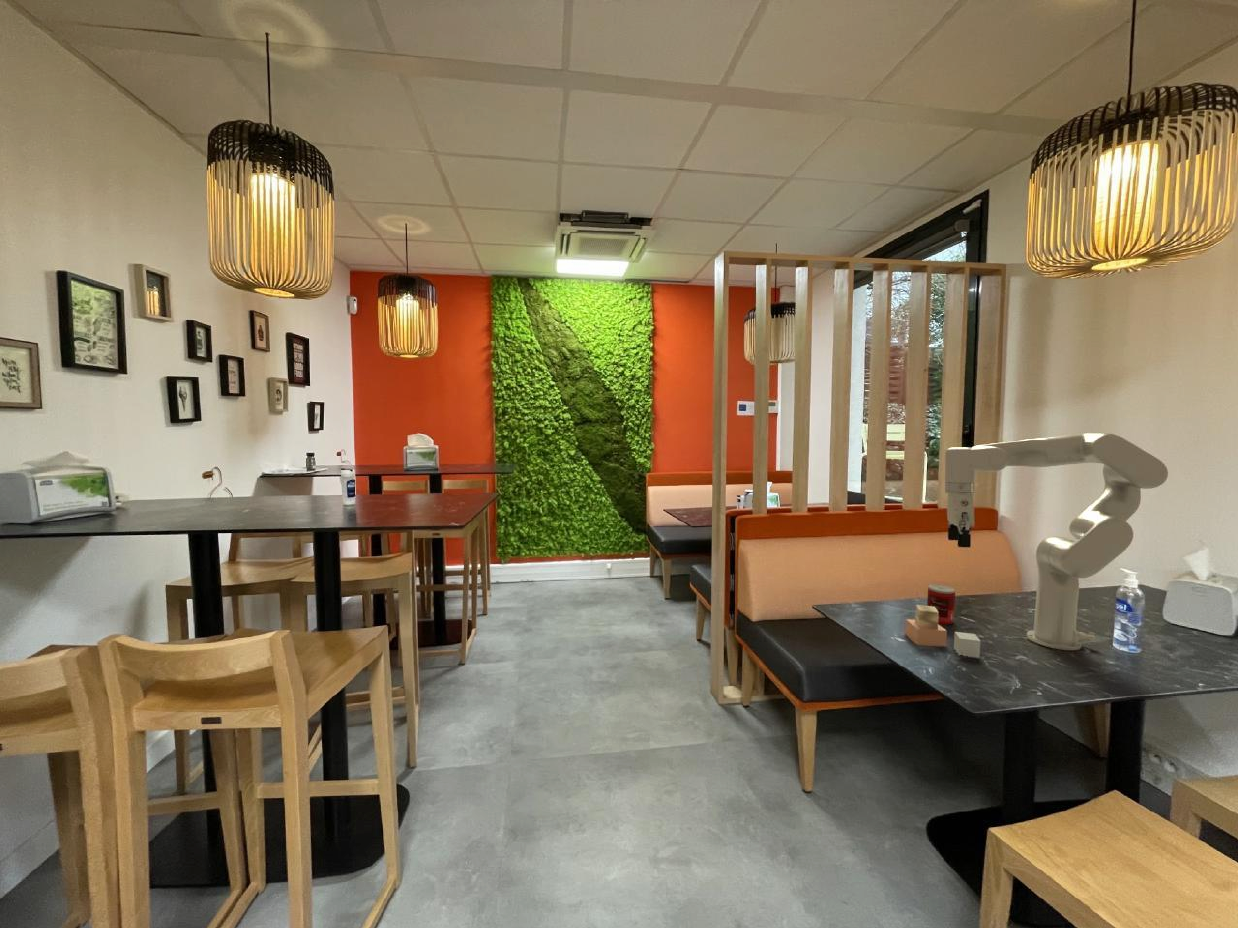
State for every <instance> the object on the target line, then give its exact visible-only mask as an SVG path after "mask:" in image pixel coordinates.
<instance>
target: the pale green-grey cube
mask: <svg viewBox="0 0 1238 928" xmlns="http://www.w3.org/2000/svg"><path fill="white" fill-rule="evenodd" d="M953 637H954V639H953V649H954V651H955V650H956V651H955V652H956V654H957V653H958V654H957V655H958V656H960V655H963V656H962V657H967V656H968V658H975V659H980V655H981V654H980V653H981V640H980V638H979V637H978V636H977V635H976V634H975V633H969V632H960V631H954V636H953Z"/></svg>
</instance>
